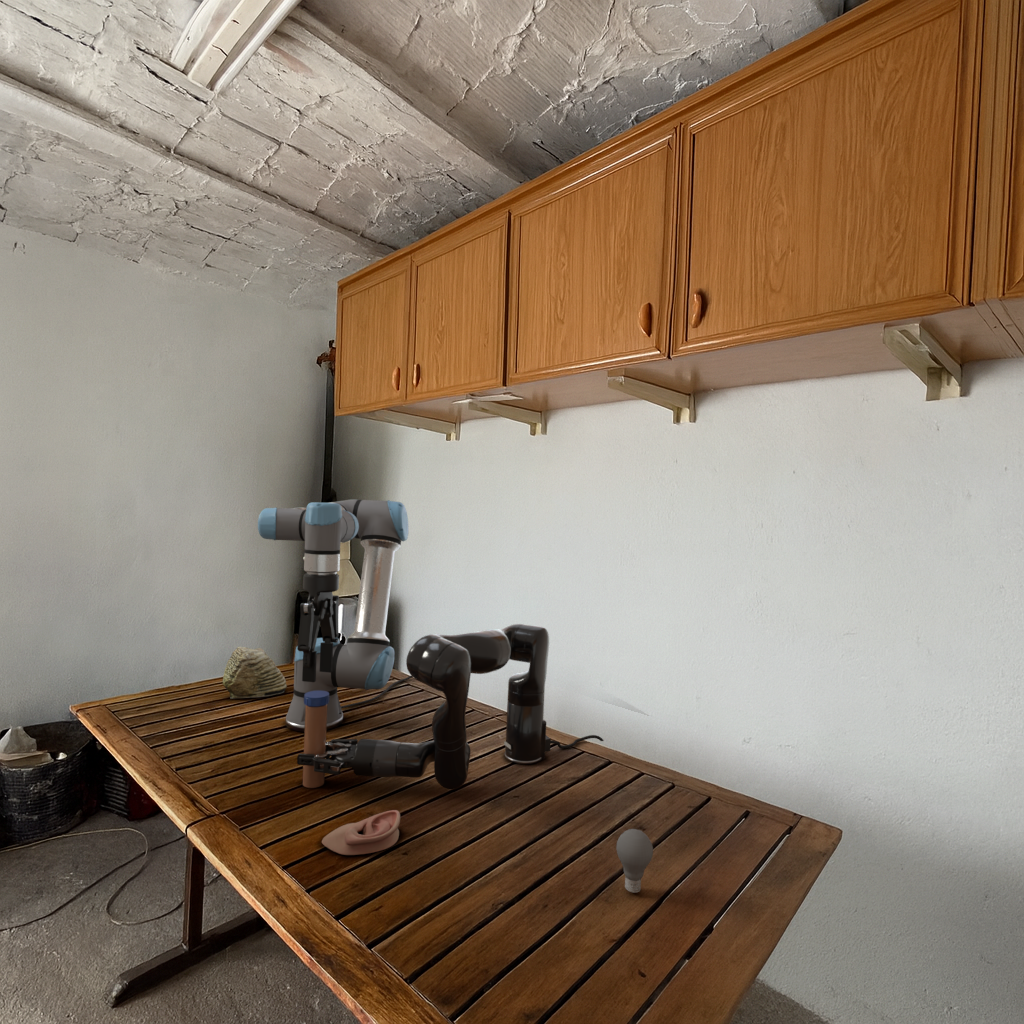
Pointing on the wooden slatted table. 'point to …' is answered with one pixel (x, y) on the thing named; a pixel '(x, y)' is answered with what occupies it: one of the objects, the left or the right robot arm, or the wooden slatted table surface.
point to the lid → (316, 698)
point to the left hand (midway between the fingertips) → (317, 676)
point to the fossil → (252, 674)
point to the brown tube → (314, 743)
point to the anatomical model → (365, 835)
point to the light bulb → (634, 857)
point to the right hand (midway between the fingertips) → (303, 753)
